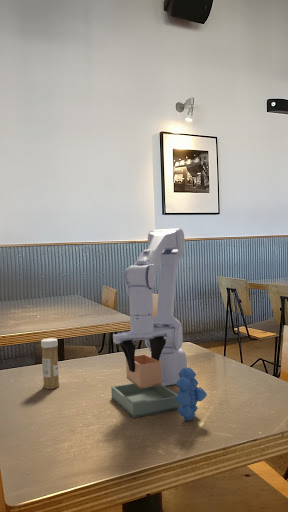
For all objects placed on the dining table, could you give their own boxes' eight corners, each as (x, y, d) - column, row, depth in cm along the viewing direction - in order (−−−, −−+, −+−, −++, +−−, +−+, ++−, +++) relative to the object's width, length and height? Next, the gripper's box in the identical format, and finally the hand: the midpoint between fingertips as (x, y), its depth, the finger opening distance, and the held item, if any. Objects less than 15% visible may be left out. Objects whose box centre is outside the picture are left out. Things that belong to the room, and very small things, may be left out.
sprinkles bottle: (61, 387, 125) (60, 339, 124) (46, 390, 122) (44, 341, 122) (55, 383, 128) (53, 337, 128) (40, 386, 126) (38, 339, 126)
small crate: (146, 375, 114) (145, 354, 114) (161, 384, 106) (160, 362, 106) (126, 378, 112) (126, 356, 112) (140, 388, 104) (139, 365, 104)
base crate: (154, 390, 119) (153, 379, 118) (180, 408, 105) (180, 396, 105) (111, 398, 114) (111, 386, 114) (133, 418, 100) (133, 405, 100)
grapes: (203, 433, 91) (201, 374, 91) (171, 430, 93) (169, 373, 93) (212, 412, 102) (210, 360, 102) (183, 409, 104) (181, 358, 104)
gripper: (119, 319, 102) (121, 377, 103) (175, 313, 108) (177, 368, 108) (109, 315, 109) (111, 370, 109) (162, 309, 114) (164, 362, 115)
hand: (143, 369), depth 109 cm, fingers closed on small crate, 5 cm apart
